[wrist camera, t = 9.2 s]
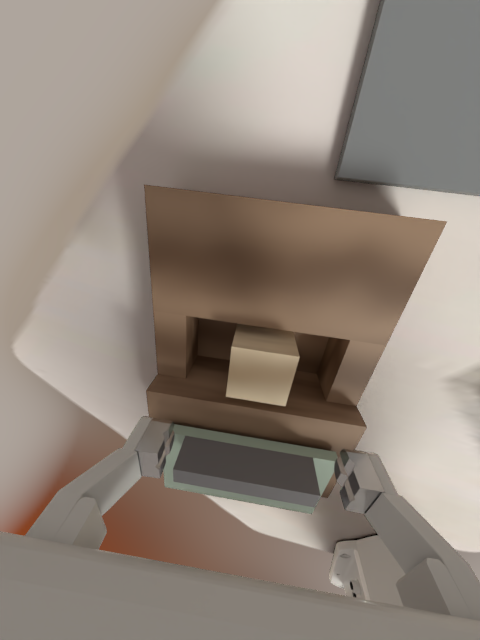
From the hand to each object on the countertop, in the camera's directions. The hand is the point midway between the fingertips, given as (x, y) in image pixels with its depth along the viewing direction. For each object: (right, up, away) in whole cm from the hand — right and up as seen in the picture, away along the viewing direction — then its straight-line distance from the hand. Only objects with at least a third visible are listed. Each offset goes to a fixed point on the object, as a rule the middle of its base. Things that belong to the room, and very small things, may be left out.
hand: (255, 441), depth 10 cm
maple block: (+1, +4, +9) cm, 10 cm away
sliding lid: (-1, -7, +9) cm, 11 cm away
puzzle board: (+1, +4, +10) cm, 11 cm away
